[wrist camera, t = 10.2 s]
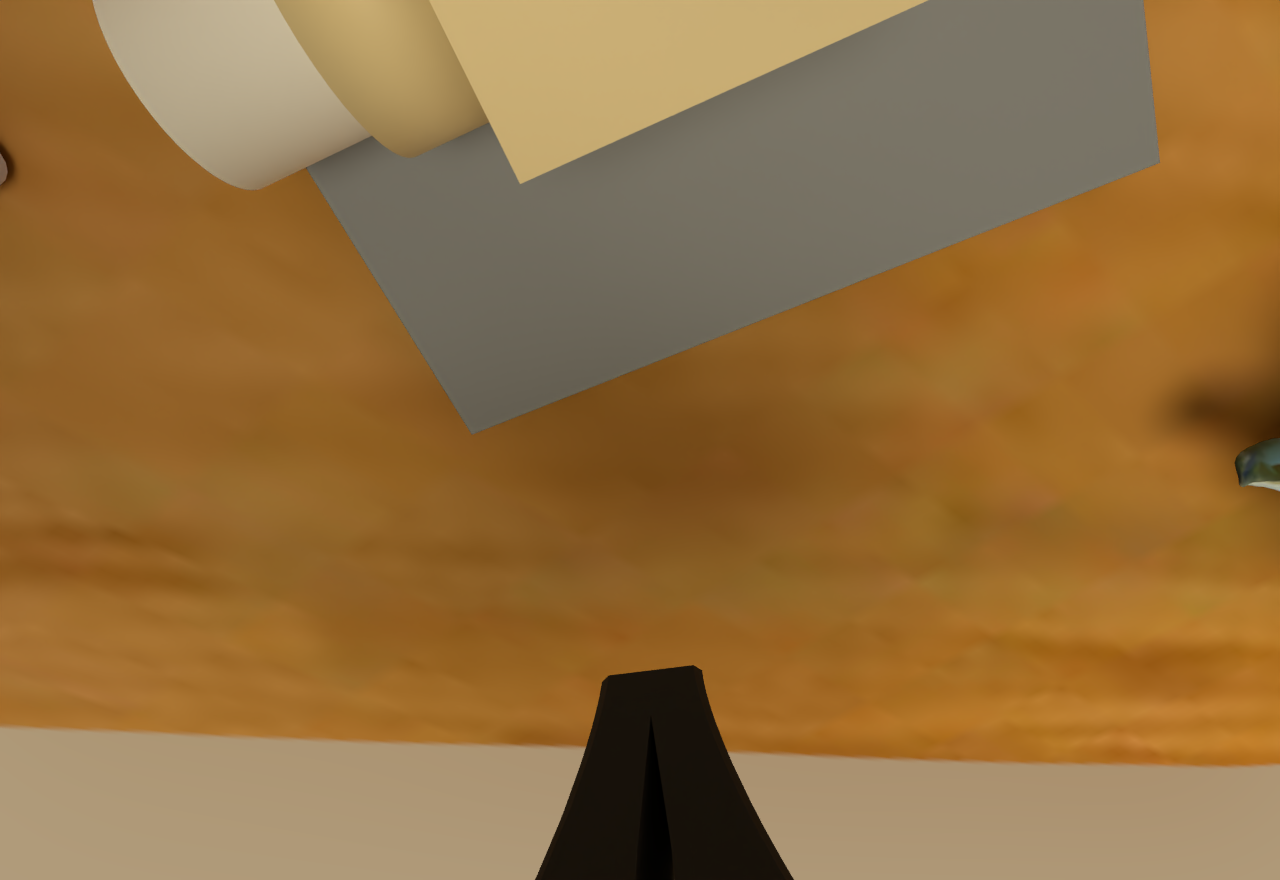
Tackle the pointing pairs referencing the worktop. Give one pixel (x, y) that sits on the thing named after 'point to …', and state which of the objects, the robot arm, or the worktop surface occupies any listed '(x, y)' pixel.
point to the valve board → (640, 151)
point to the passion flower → (1260, 465)
